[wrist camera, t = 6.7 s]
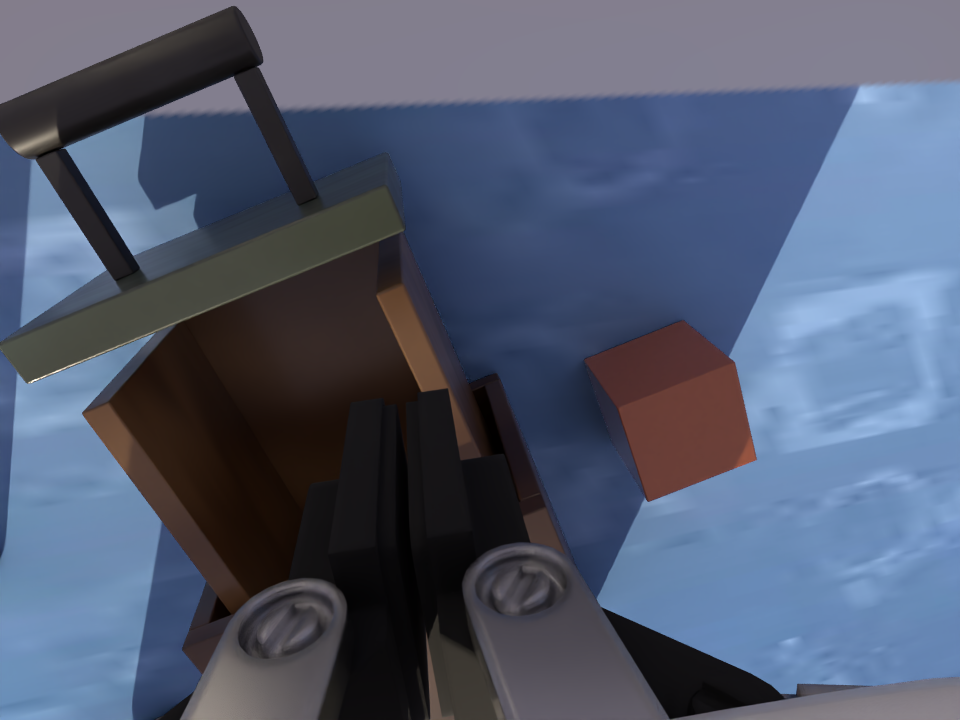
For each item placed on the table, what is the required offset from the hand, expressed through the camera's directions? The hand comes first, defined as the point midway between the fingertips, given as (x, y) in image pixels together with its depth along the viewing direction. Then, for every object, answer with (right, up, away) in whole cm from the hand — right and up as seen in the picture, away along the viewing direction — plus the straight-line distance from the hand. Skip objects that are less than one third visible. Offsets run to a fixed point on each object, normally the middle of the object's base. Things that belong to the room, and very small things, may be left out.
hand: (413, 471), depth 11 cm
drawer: (-5, +4, +13) cm, 14 cm away
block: (+8, +1, +17) cm, 19 cm away
